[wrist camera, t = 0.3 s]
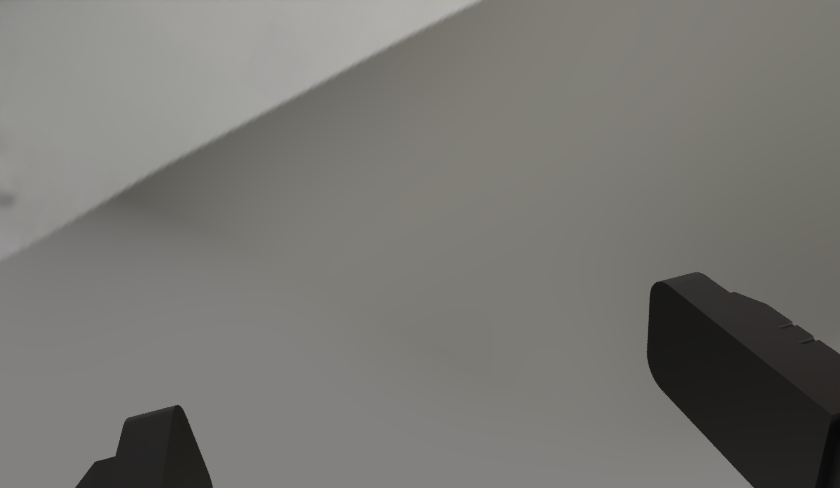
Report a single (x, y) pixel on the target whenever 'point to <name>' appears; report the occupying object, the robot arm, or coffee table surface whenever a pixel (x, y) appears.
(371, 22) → the coffee table surface
